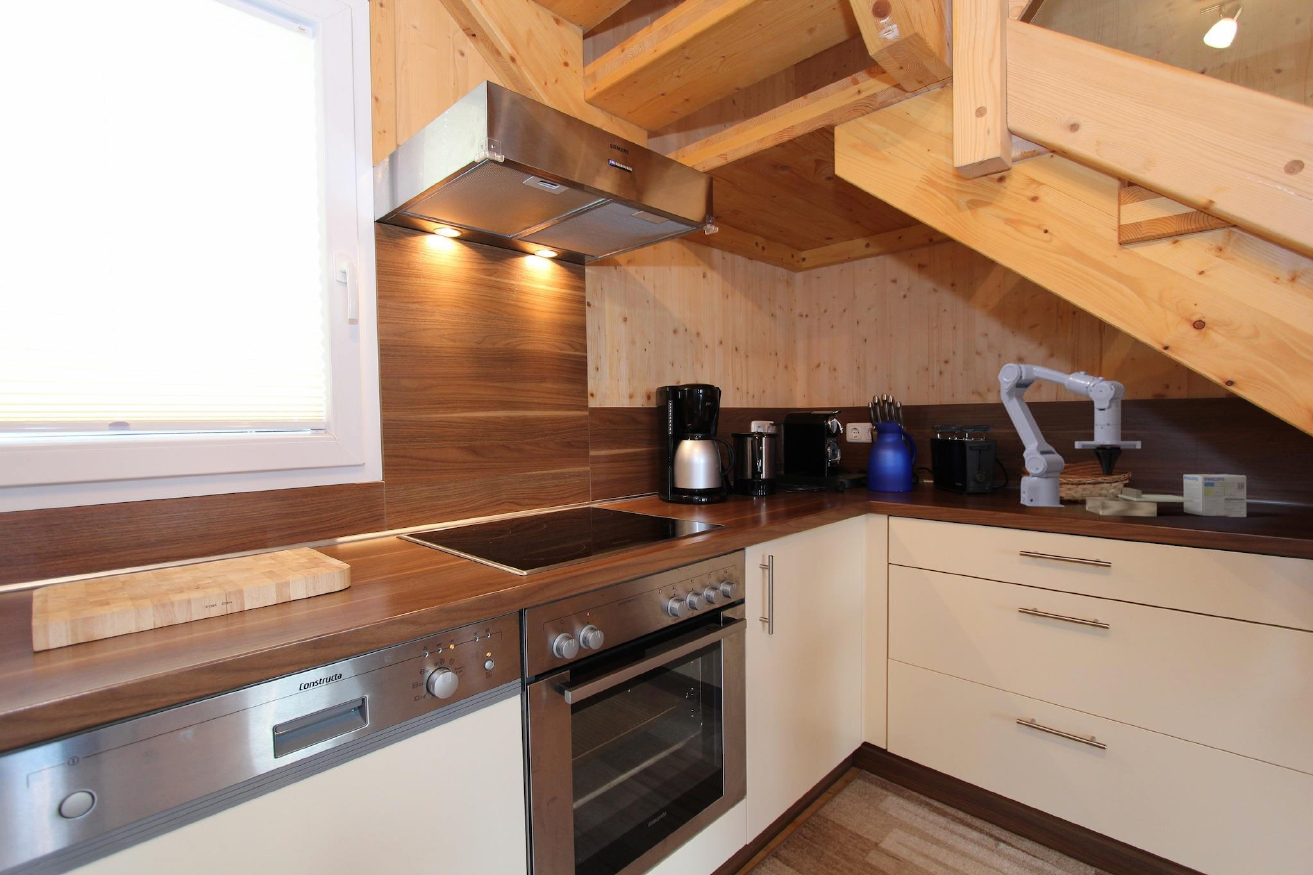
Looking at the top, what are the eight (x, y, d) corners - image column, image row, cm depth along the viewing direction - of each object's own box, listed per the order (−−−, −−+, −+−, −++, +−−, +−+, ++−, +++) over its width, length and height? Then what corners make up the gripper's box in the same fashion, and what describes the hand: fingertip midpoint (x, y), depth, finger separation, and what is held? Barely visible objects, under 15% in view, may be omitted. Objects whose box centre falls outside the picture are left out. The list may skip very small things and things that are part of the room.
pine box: (1101, 516, 155) (1101, 501, 154) (1086, 511, 164) (1086, 497, 164) (1156, 518, 151) (1156, 502, 151) (1137, 512, 161) (1137, 498, 161)
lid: (1136, 501, 152) (1136, 491, 152) (1118, 496, 162) (1118, 487, 162) (1192, 502, 149) (1192, 491, 149) (1171, 497, 158) (1171, 487, 158)
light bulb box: (1225, 513, 157) (1225, 473, 157) (1248, 517, 150) (1248, 475, 150) (1181, 513, 158) (1181, 473, 158) (1202, 517, 151) (1202, 475, 151)
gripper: (1081, 425, 159) (1081, 475, 159) (1146, 424, 154) (1146, 476, 155) (1072, 425, 166) (1072, 473, 166) (1134, 424, 161) (1134, 474, 161)
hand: (1107, 475), depth 161 cm, fingers closed
